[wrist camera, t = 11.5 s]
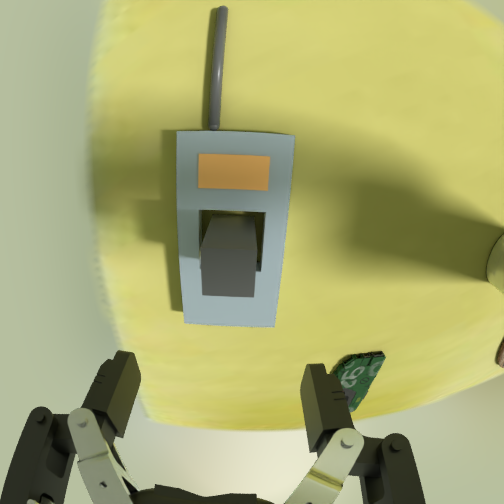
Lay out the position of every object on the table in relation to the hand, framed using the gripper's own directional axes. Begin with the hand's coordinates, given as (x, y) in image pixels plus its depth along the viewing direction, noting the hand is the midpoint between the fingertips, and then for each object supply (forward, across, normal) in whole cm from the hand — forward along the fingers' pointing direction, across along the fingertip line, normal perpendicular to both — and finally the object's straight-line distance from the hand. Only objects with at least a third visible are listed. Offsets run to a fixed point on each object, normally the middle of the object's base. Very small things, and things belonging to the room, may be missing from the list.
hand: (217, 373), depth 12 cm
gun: (+18, -18, +25) cm, 36 cm away
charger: (+17, 0, 0) cm, 17 cm away
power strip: (+17, 0, -7) cm, 19 cm away
